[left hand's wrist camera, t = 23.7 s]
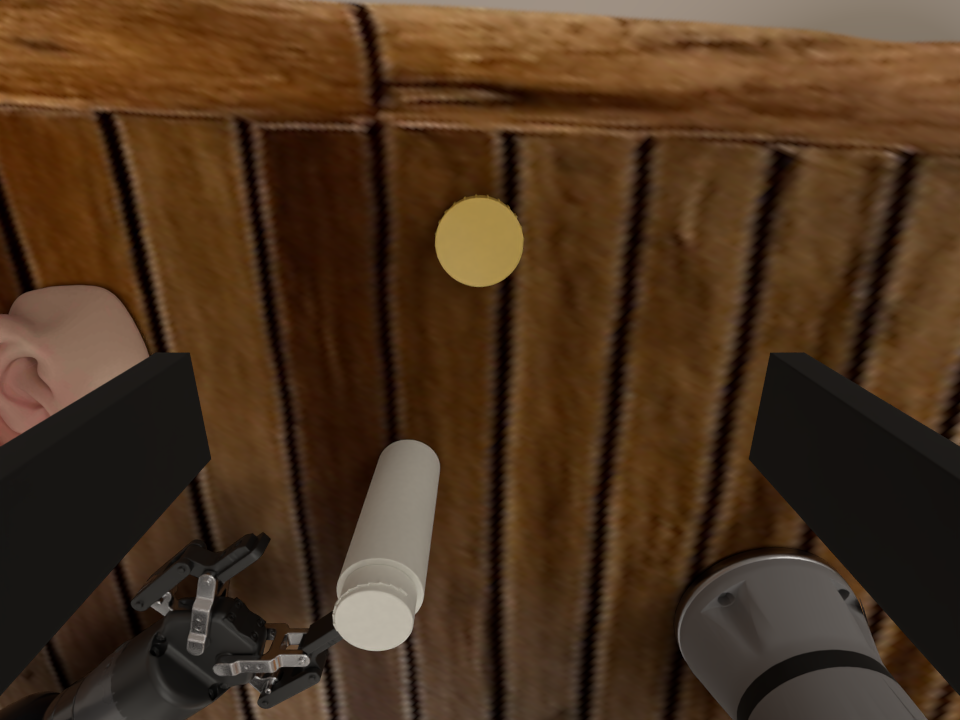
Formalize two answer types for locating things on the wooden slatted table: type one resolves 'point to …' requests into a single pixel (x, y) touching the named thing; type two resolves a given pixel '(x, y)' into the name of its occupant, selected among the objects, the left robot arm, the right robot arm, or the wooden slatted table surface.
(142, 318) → the wooden slatted table surface
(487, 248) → the lid
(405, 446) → the bottle
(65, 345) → the anatomical model
